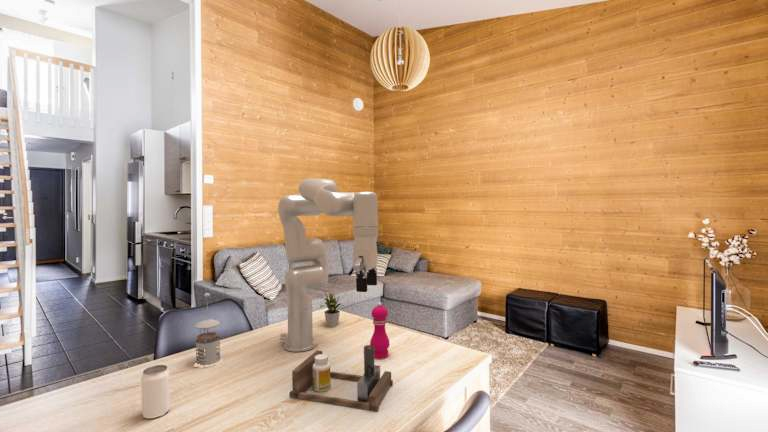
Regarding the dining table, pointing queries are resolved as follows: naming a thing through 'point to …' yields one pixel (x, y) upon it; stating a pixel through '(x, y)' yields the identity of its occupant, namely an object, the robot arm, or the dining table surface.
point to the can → (155, 391)
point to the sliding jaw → (368, 375)
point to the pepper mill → (379, 332)
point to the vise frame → (304, 378)
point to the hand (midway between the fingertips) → (367, 288)
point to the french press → (207, 342)
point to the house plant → (331, 310)
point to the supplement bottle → (321, 373)
